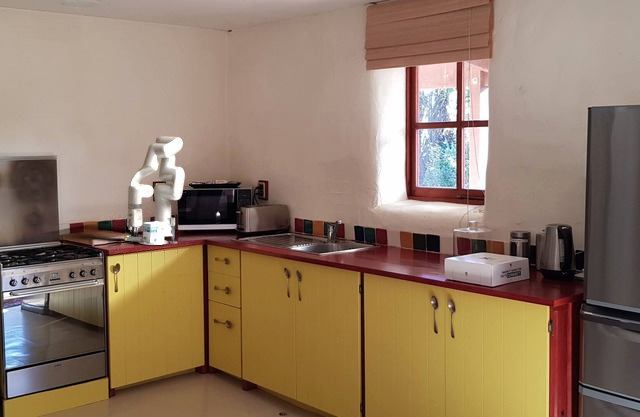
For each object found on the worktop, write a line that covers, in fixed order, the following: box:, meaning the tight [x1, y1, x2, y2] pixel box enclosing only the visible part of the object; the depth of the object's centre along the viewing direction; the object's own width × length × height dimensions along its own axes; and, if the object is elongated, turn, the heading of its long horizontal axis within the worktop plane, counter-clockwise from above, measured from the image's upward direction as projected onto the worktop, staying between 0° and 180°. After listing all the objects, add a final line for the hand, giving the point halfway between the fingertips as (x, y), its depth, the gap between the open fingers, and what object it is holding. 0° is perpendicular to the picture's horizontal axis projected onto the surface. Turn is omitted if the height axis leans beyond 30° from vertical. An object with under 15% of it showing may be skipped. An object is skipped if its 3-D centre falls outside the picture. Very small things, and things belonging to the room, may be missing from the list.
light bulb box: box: [142, 221, 165, 243], centre depth 422 cm, size 11×7×11 cm, turn 145°
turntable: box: [123, 234, 169, 246], centre depth 424 cm, size 16×26×3 cm, turn 74°
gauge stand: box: [167, 217, 178, 245], centre depth 427 cm, size 4×5×15 cm
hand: (134, 238), depth 430 cm, fingers closed
